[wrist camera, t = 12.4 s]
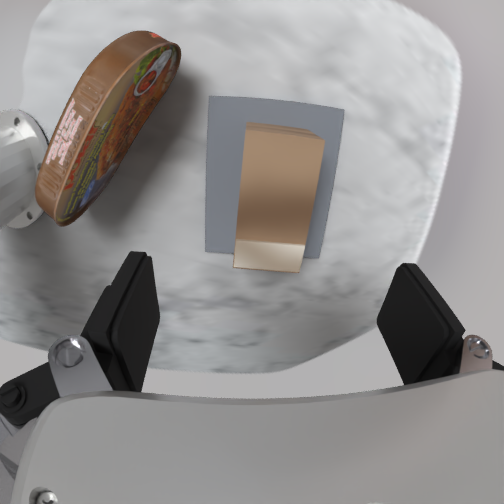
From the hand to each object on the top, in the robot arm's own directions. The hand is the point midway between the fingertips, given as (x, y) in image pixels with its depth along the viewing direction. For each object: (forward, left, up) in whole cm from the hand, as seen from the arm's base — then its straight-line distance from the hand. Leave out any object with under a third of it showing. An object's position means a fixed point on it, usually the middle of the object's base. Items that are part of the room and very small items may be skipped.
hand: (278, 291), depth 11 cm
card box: (+1, 0, -14) cm, 14 cm away
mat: (+1, 0, -14) cm, 14 cm away
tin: (-11, +4, -14) cm, 19 cm away
